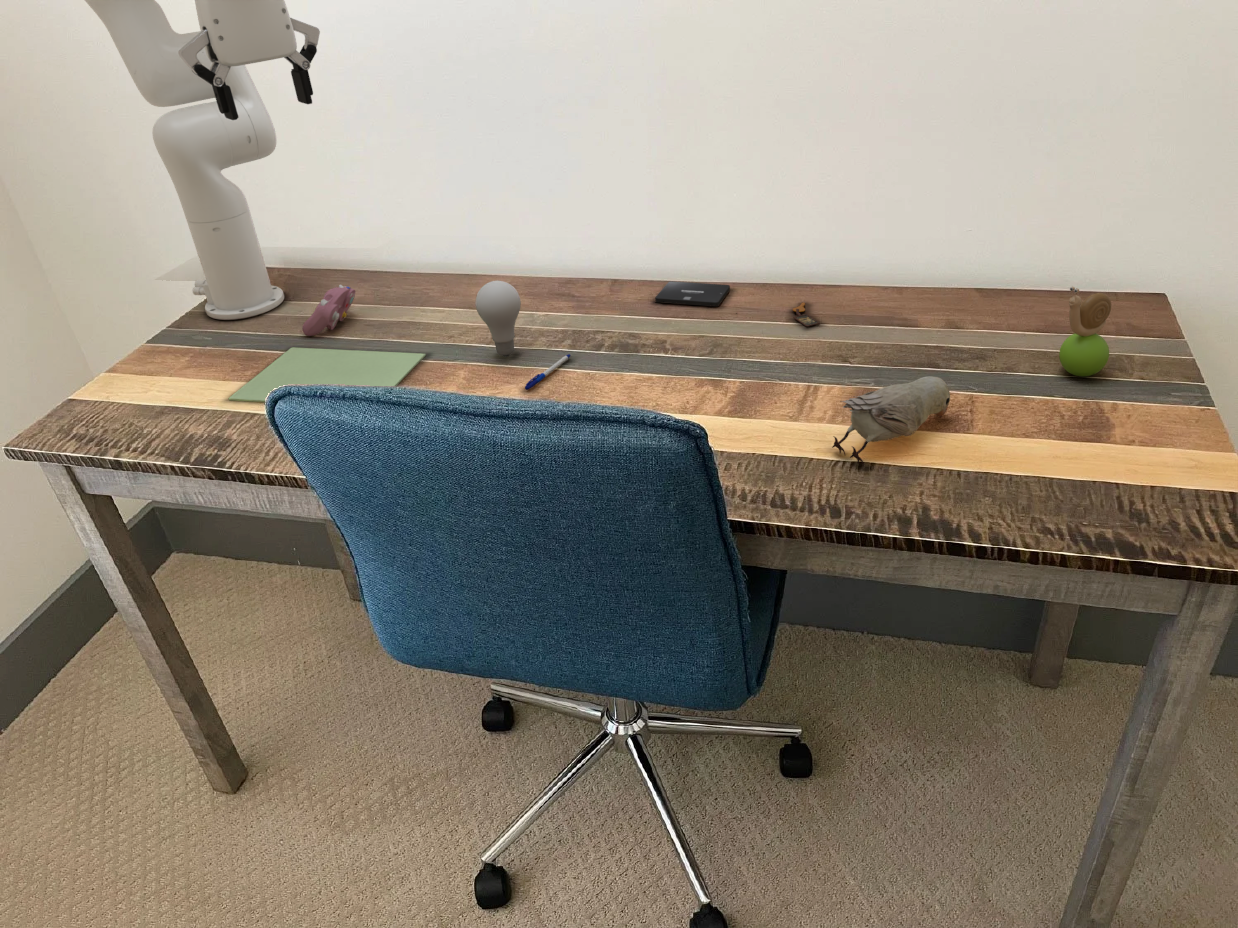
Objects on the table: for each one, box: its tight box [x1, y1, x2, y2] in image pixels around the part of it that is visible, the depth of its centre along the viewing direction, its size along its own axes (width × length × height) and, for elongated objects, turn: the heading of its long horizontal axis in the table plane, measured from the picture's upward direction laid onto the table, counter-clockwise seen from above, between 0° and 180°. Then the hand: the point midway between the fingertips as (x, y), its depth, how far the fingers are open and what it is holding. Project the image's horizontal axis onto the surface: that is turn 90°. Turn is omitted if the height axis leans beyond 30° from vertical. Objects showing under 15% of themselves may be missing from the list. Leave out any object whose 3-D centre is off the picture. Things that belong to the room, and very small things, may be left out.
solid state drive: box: [654, 280, 731, 307], centre depth 148 cm, size 7×10×1 cm
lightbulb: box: [475, 280, 522, 358], centre depth 133 cm, size 6×6×11 cm
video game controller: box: [302, 283, 356, 337], centre depth 149 cm, size 10×5×7 cm, turn 168°
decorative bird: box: [831, 375, 951, 467], centre depth 107 cm, size 5×16×8 cm, turn 123°
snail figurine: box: [1058, 286, 1112, 378], centre depth 114 cm, size 5×6×12 cm
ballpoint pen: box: [524, 353, 571, 391], centre depth 129 cm, size 10×1×1 cm, turn 151°
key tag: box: [792, 301, 821, 328], centre depth 138 cm, size 8×3×1 cm, turn 7°
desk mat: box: [228, 347, 427, 403], centre depth 134 cm, size 22×16×1 cm
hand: (269, 110), depth 122 cm, fingers open, 9 cm apart
